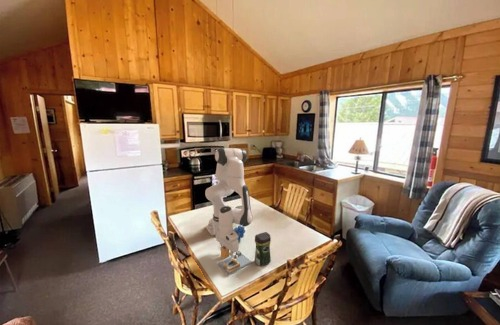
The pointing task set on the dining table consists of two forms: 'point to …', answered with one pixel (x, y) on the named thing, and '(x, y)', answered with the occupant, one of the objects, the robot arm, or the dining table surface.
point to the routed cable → (235, 256)
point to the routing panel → (241, 259)
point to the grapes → (240, 232)
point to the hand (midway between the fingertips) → (226, 252)
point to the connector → (224, 252)
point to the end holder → (236, 266)
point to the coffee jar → (262, 248)
